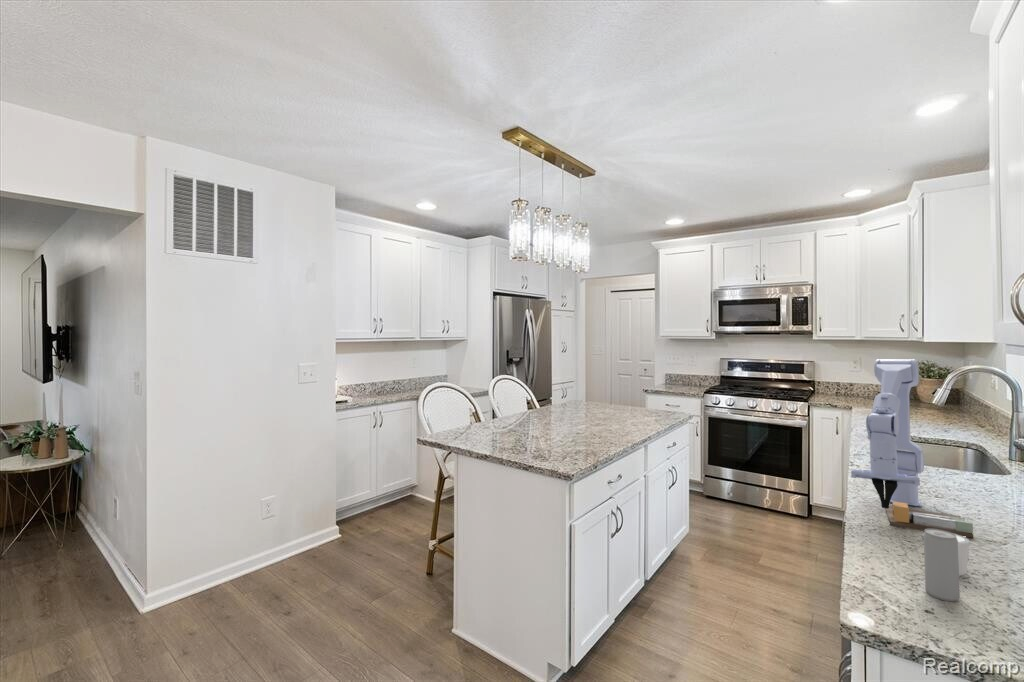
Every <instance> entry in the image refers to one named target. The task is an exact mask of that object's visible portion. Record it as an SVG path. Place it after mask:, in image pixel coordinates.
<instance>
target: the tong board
mask: <svg viewBox="0 0 1024 682" xmlns="http://www.w3.org/2000/svg"><path fill="white" fill-rule="evenodd" d="M884 509H885V513H886V516H887V520H888V523H890V524H889V526H892V525H893V527H898V526H900V527H899V528H904V529H905V528H907V529H912V530H919V531H923V530H925V529H939V530H944V531H948V532H951V533H954V534H957V535H960V536H966V537H965V538H967V537H972V538H971V539H974V527H973V522H972V521H969V520H965V521H963V520H956V519H955V520H953V519H946V518H939V517H932V516H925V515H918V514H913V512H917V513H925V514H933V515H940V516H951V517H958V518H962V517H961V515H955V514H950V513H941V512H935V511H929V510H921V509H914V508H909V523H906V522H900V521H894V516H893V505H889V509H887V508H884Z"/></svg>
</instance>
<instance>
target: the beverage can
mask: <svg viewBox="0 0 1024 682" xmlns="http://www.w3.org/2000/svg"><path fill="white" fill-rule="evenodd" d="M956 537H957V536H956V535H955V534H953V533H951V532H948V531H944V530H939V529H925V530H924V532H923V554H924V555H923V556H924V557H923V559H924V580H925V582H924V583H925V591H926V593H928V594H929V595H930V596H931V597H933V598H935V599H938V600H941V601H944V602H953V603H954V602H956V601H959V600H960V599H961V595H960V594H961V592H960V590H961V589H960V575H959V560H958V540H957V538H956Z"/></svg>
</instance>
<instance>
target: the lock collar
mask: <svg viewBox="0 0 1024 682" xmlns="http://www.w3.org/2000/svg"><path fill="white" fill-rule="evenodd" d="M891 503H892V506H893V516H894V521H900V522H906V523H909V509H910V508H909V505H907V503H901V502H893V501H892V502H891Z"/></svg>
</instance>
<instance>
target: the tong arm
mask: <svg viewBox="0 0 1024 682" xmlns="http://www.w3.org/2000/svg"><path fill="white" fill-rule="evenodd" d="M913 514H918V515H925V516H932V517H939V518H946V519H953V520H955V519H956V520H963V521H966V519H964V517H961V518H958V517H951V516H940V515H933V514H925V513H917V512H913Z"/></svg>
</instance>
